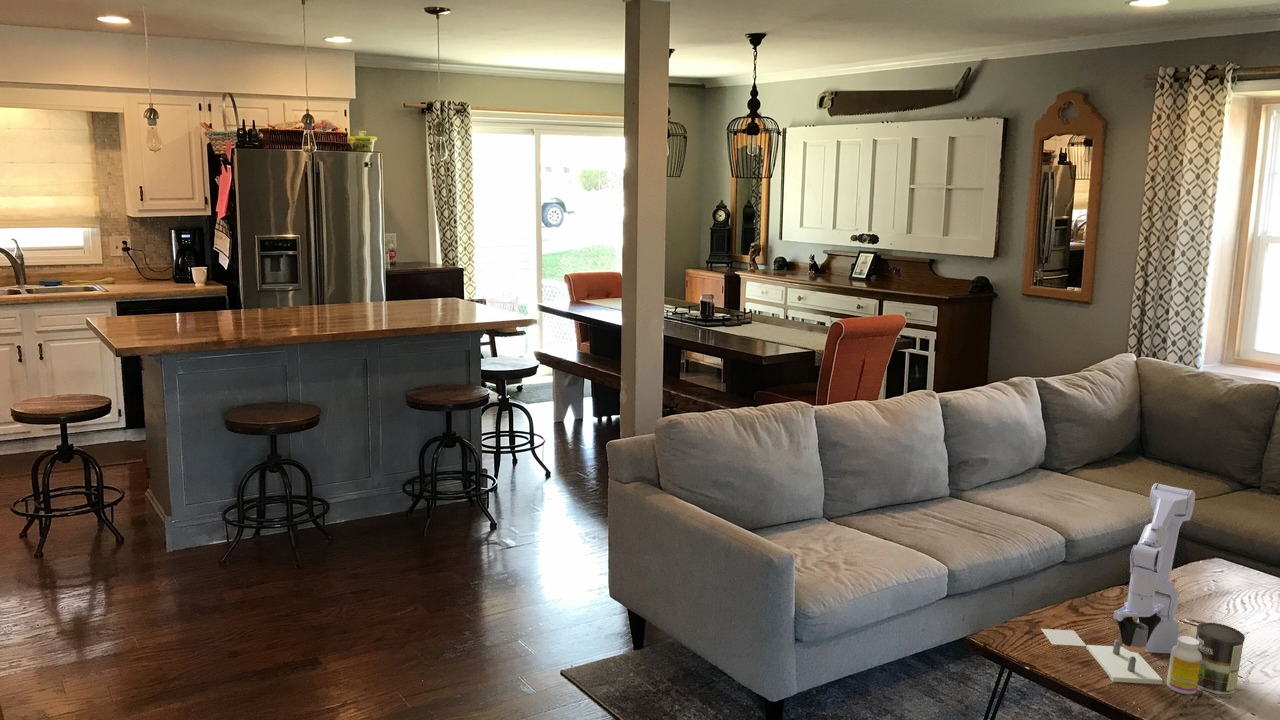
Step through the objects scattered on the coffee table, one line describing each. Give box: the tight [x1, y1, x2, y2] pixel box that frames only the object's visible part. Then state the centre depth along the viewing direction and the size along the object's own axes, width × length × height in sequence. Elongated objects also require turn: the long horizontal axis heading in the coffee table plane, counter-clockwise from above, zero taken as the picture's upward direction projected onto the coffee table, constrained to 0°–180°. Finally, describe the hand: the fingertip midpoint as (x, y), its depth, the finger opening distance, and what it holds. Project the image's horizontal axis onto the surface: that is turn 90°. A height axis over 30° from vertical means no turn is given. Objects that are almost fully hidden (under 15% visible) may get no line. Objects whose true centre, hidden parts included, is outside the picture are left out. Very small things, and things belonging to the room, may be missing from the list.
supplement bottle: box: [1166, 635, 1202, 695], centre depth 243 cm, size 7×7×13 cm
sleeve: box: [1122, 620, 1148, 654], centre depth 248 cm, size 5×5×6 cm
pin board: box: [1085, 639, 1163, 685], centre depth 254 cm, size 12×17×5 cm
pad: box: [1040, 628, 1087, 647], centre depth 269 cm, size 9×9×1 cm
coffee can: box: [1195, 622, 1246, 696], centre depth 246 cm, size 10×10×14 cm
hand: (1134, 642), depth 249 cm, fingers closed on sleeve, 5 cm apart
